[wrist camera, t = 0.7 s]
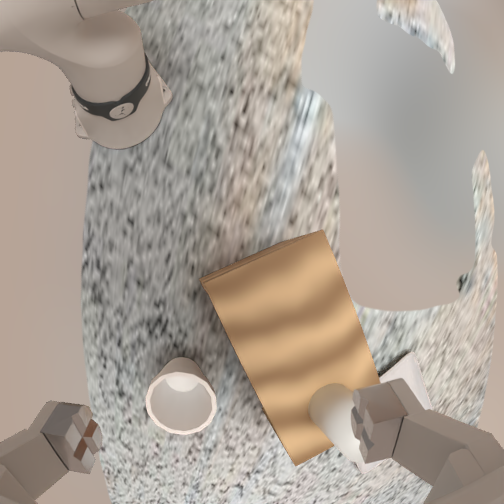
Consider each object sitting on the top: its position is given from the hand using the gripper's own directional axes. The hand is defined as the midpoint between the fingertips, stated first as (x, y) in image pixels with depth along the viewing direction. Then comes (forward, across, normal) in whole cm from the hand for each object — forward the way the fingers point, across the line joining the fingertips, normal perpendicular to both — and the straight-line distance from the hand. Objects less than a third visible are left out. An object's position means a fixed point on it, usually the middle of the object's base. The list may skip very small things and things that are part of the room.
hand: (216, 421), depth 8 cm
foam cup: (+37, +12, +25) cm, 46 cm away
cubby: (+41, -4, +21) cm, 47 cm away
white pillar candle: (+23, -9, +22) cm, 33 cm away
